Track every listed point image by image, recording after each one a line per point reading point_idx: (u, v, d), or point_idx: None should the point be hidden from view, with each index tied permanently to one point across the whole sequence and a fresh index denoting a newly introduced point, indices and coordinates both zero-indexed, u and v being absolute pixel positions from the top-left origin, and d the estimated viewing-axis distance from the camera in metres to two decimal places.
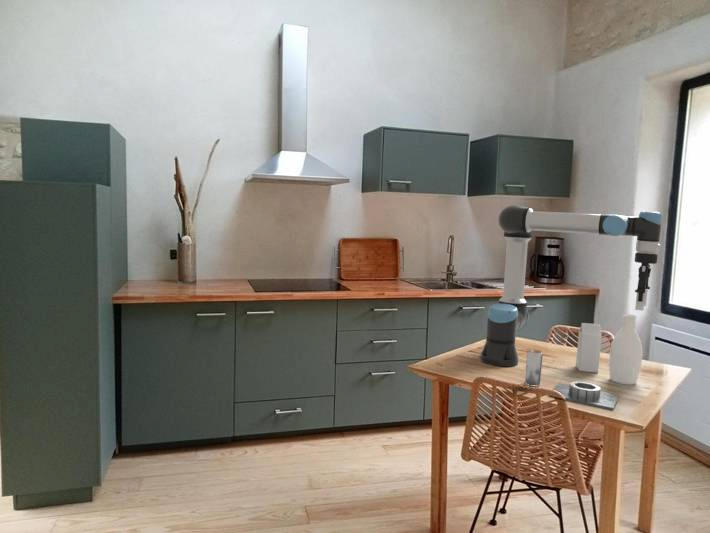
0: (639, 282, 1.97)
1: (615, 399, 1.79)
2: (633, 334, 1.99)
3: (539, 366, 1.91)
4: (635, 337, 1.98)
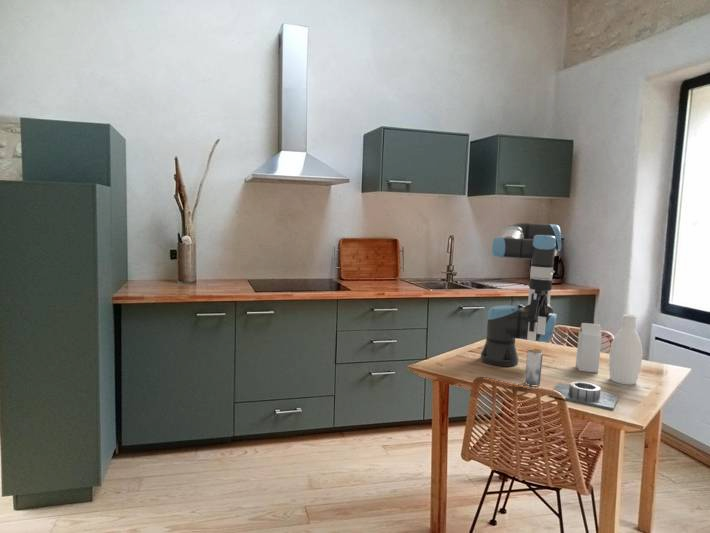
0: (530, 311, 1.84)
1: (615, 399, 1.79)
2: (633, 334, 1.99)
3: (539, 366, 1.91)
4: (635, 337, 1.98)
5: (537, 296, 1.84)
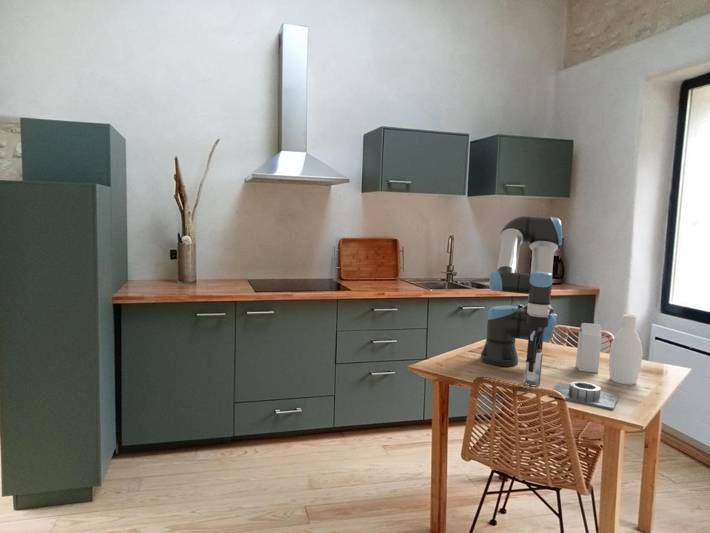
0: (528, 352, 1.88)
1: (615, 399, 1.79)
2: (633, 334, 1.99)
3: (539, 366, 1.91)
4: (635, 337, 1.98)
5: (534, 338, 1.86)
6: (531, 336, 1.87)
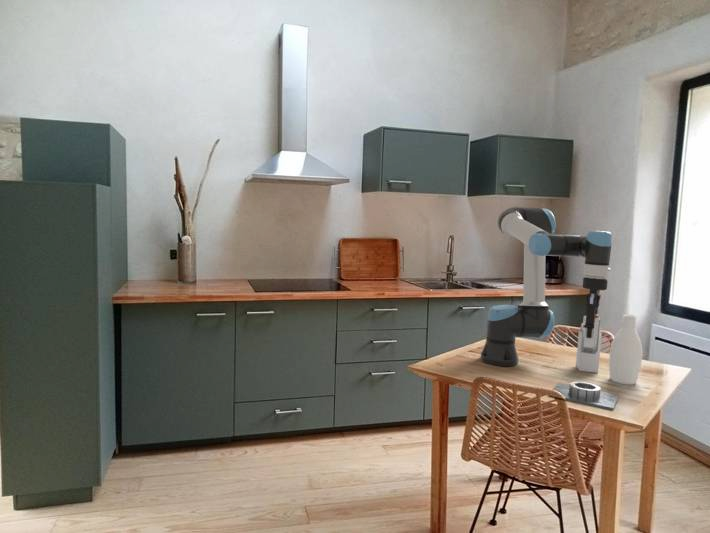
0: (587, 317, 1.75)
1: (615, 399, 1.79)
2: (633, 334, 1.99)
3: (597, 332, 1.79)
4: (635, 337, 1.98)
5: (594, 301, 1.73)
6: (591, 299, 1.74)
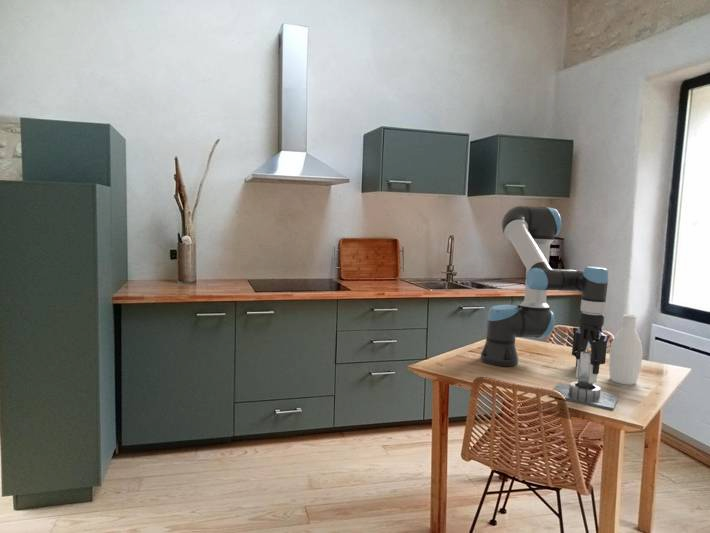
0: (601, 355, 1.75)
1: (615, 399, 1.79)
2: (633, 334, 1.99)
3: None
4: (635, 337, 1.98)
5: (607, 338, 1.75)
6: (605, 337, 1.75)
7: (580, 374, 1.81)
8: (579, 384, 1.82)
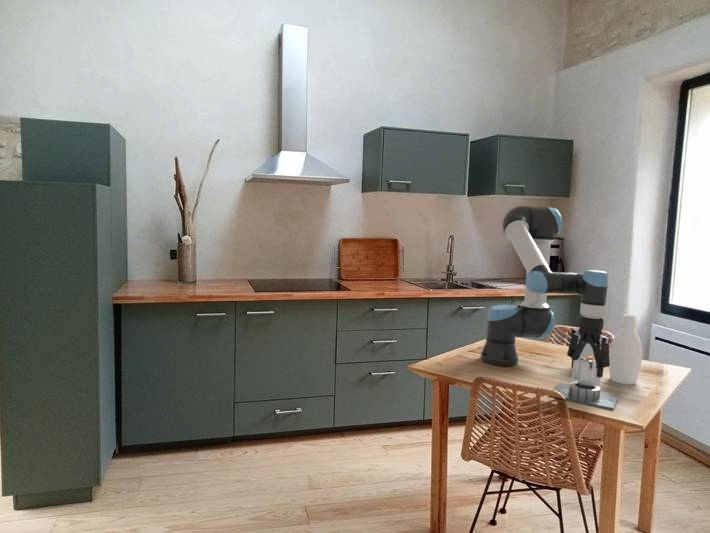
0: (605, 357, 1.75)
1: (615, 399, 1.79)
2: (633, 334, 1.99)
3: None
4: (635, 337, 1.98)
5: (609, 340, 1.75)
6: (607, 338, 1.75)
7: (580, 382, 1.82)
8: None
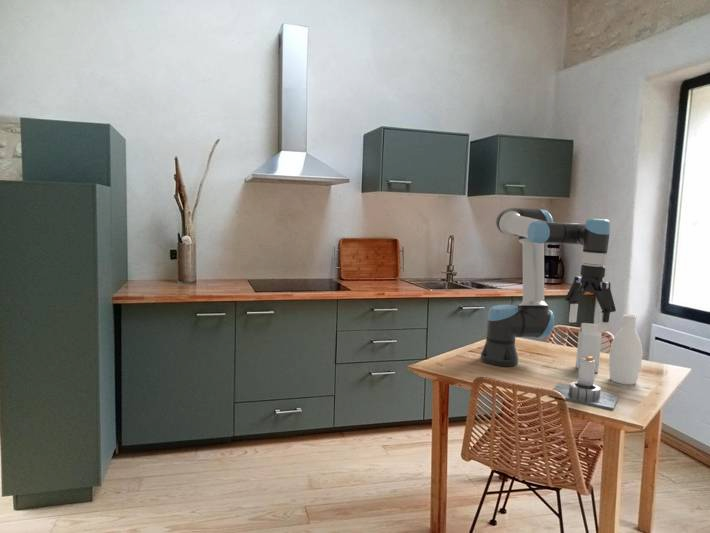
0: (608, 301, 1.73)
1: (615, 399, 1.79)
2: (633, 334, 1.99)
3: None
4: (635, 337, 1.98)
5: (609, 284, 1.75)
6: (607, 283, 1.74)
7: (580, 382, 1.81)
8: None
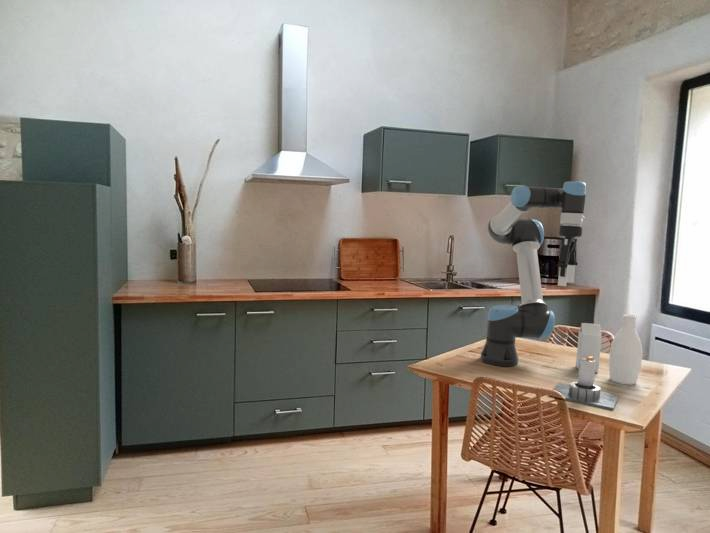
0: (561, 256, 1.85)
1: (615, 399, 1.79)
2: (633, 334, 1.99)
3: None
4: (635, 337, 1.98)
5: (568, 241, 1.86)
6: (565, 239, 1.86)
7: (580, 382, 1.81)
8: None
